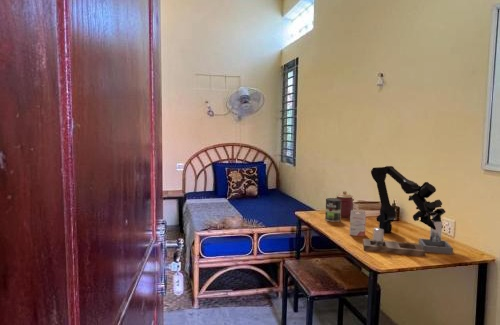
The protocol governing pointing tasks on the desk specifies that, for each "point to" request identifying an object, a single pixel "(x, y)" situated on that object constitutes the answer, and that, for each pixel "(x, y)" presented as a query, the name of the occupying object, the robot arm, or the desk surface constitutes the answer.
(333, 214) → the coffee can
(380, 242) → the block
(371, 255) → the desk surface
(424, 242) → the tray
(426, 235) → the desk surface
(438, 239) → the loose billet
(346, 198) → the canister
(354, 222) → the ink cartridge box
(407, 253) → the divided tray
